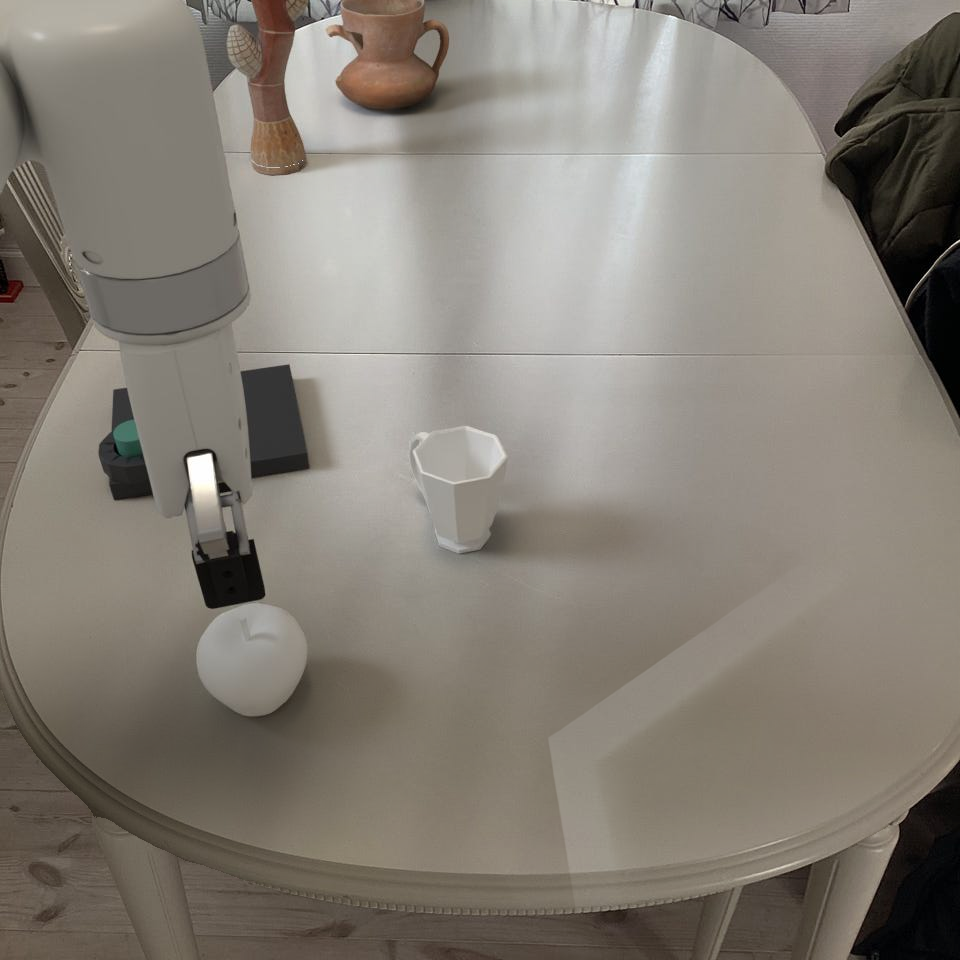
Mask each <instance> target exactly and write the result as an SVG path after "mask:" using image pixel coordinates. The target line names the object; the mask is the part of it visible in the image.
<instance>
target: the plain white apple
mask: <svg viewBox="0 0 960 960" xmlns="http://www.w3.org/2000/svg"><path fill="white" fill-rule="evenodd" d="M195 655H196V657H195V658H196V662H195V663H196V669H197V673H198V677H199V679H200V681H201V683H202V684H203V686H204V688H205V689H206V691H208V692H209V693H210V694H211V696H213V697H214V698H215V699H217V700H218V701H219V702H221V703H222V704H223V705H225V706H226V707H228V708H229V709H230V710H232V711H234V712H235V713H237V714H239V715H241V716H244V717H263V716H267V715H269V714H272V713H273V712H275V711H277V710H278V709H279V708H280V707H281V706H282V705H284V704H285V703H286V702H287V701H288V700H289V699H290V697H291V696H292V695H293V694H294V692H295V690H296V688H297V686H298V685H299V683H300V681H301V679H302V677H303V674H304V671H305V669H306V666H307V661H308V642H307V639H306V636H305V633H304V631H303V630H302V628H301V626H300V623H298V621H297V620H296V618H294V617H293V615H292V614H291V613H289V612H288V611H287V610H285V609H283V608H281V607H279V606H276V605H269V604H265V603H259V602H258V603H256V602H249V603H245V604H241V605H240V606H236V607H235V608H231V609H228V610H226V611H224V612H222V613H220V614H218V615H217V616H216V617H215V618H214V619H213V620H212V621H211V622H210V623H209V625H208V626H207V627H206V628H205V630H204V632H203V633H202V635H201V636H200V639H199V640H198V643H197V646H196V653H195Z"/></svg>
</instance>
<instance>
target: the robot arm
mask: <svg viewBox="0 0 960 960" xmlns="http://www.w3.org/2000/svg"><path fill="white" fill-rule="evenodd" d="M205 49H206V48H205V44H204V39H203V37H202V31H201V28H200V25H199V23H198V21H197V17H195V15H194V13H193V11H192V10H191V8H190V7H189V6H188V5H187V3H186V2H185V1H184V0H0V196H1V195H2V194H3V191H4V188H5V186H6V184H7V182H8V180H9V178H10V175H11V173H12V172H13V171H15V170H16V169H18V168H19V167H21V166H22V165H24V164H25V163H27V162H37V163H39V164H40V165H42V166H43V168H44V169H45V172H46V175H47V179H48V182H49V185H50V189H51V192H52V195H53V199H54V201H55V205H56V207H57V211H58V214H59V215H58V216H59V218H60V221H61V224H62V227H63V231H64V235H65V238H66V240H67V244H68V247H69V250H70V253H71V257H72V259H73V263H74V266H75V269H76V273H77V276H78V279H79V282H80V286H81V288H82V292H83V295H84V299H85V303H86V305H87V308H88V311H89V315H90V318H91V321H92V324H93V326H94V328H95V329H96V330H97V332H99V333H100V334H102V335H103V336H105V337H107V338H108V339H111V340H114V341H116V342H118V347H119V354H120V359H121V364H122V370H123V375H124V381H125V385H126V388H127V390H128V395H129V399H130V403H131V408H132V412H133V416H134V420H135V424H136V428H137V432H138V436H139V440H140V444H141V448H142V452H143V456H144V460H145V463H146V467H147V471H148V475H149V479H150V483H151V487H152V492H153V494H152V495H153V499H154V503H155V508H156V510H157V513H158V514H159V515H161V516H162V517H163V518H164V519H172V518H173V517H181V516H183V513H184V511H185V515H186V519H187V520H186V521H187V525H188V531H189V536H190V542H191V543H190V544H191V548H192V549H191V558H192V562H193V565H194V570H195V574H196V577H197V580H198V583H199V587H200V591H201V593H202V598H203V602H204V605H205V607H206V608H207V609H210V610H216V609H220V608H225V607H226V608H227V607H230V606H237V605H242V604H248V603H253V602H256V601H260V600H263V599H264V598H265V597H266V588H265V583H264V578H263V573H262V570H261V565H260V561H259V555H258V553H257V548H256V543H255V539H254V538H251V539H249V536H248V531H247V524H246V520H245V519H246V518H245V513H244V509H243V506H244V505H245V504H247V503H248V501H249V500H250V499H251V497H252V496H253V484H252V478H251V463H250V448H249V435H248V424H247V414H246V405H245V397H244V390H243V384H242V377H241V372H240V371H241V366H240V362H239V356H238V351H237V345H236V340H235V334H234V329H233V325H232V323H233V322H235V321H236V320H237V319H238V318H239V317H241V315H243V314H244V313H245V312H246V309H247V308H248V306H249V304H250V303H251V299H252V298H251V297H252V292H251V287H250V281H249V276H248V271H247V270H248V269H247V266H246V261H245V260H246V259H245V256H244V255H245V254H244V250H243V244H242V239H241V234H240V229H239V224H238V219H237V213H236V207H235V203H234V198H233V191H232V188H231V182H230V177H229V171H228V166H227V159H226V155H225V149H224V144H223V138H222V133H221V129H220V123H219V117H218V112H217V107H216V102H215V96H214V91H213V85H212V80H211V75H210V70H209V65H208V59H207V54H206V50H205ZM224 493H225V494H224ZM226 493H230V494H226ZM221 494H224V495H221ZM224 508H230V512H231V516H232V521H233V526H234V530H229V531H228V530H227V526H226V522H225V517H224V511H223V509H224Z"/></svg>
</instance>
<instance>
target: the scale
mask: <svg viewBox="0 0 960 960" xmlns="http://www.w3.org/2000/svg"><path fill="white" fill-rule="evenodd" d="M240 372H241V377H242V384H243V390H244V397H245V405H246V414H247V424H248V435H249V448H250V463H251V479H253V478H259V477H264V476H270V475H277V474H282V473H289V472H295V471H300V470H307V469H310V463H309V456H308V450H307V445H306V440H305V435H304V430H303V425H302V420H301V414H300V410H299V405H298V400H297V395H296V390H295V385H294V380H293V376H292V370H291V365H290V363H288V364H281V365H275V366H267V367H261V368H253V369H247V370H240ZM111 409H112V412H111V431H110V432H109V433H108V434H107V435H106V436H105V437H104V438H103V439H102V440H101V441H100V442H99V444H98V458H99V461H100V464H101V468H102V470H103V473H104V474H105V475H106V476H108V479H109V480H108V486H109V489H110V492H111V495H112V498H113V501H116V500H124V499H129V498H135V497H141V496H148V495H153V492H152V487H151V483H150V479H149V475H148V471H147V467H146V463H145V460H144V456H143V455H142V456H138V457H131V458H129V457H124V456H122V455H120V454H119V452H118V449H117V446H116V442H115V439H114V436H113V432H114V430H115V428H116V427H117V426H118V425H120V424H122V423H124V422H126V421H130V420H134V416H133V412H132V408H131V403H130V399H129V395H128V390H127V387H121V388H115V389H113V390H112V407H111Z"/></svg>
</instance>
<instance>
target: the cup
mask: <svg viewBox="0 0 960 960" xmlns="http://www.w3.org/2000/svg"><path fill="white" fill-rule="evenodd" d="M508 458H509V457H508V454H507V452H506V450H505V448H504V446H503V443H502V442H501V439H500V438H499V436H498V435H497V434H494V433H490V432H488V431H485V430H483V429H482V430H481V429H478V428H475V427H472V426H469V425H460V426H456V427H449V428H444V429H439V430H433V431H431V432H430V433H428V432H426V431H421V432H418V433H416V434H414V435H413V436H412V437H411V438H410V439H409V442H408V449H407V460H408V465H409V469H410V472H411V475H412V477H413V479H414V481H415V483H416V486H417V487H418V489H419V491H420V493H421V494H422V496H423V497H424V501H425V504H426V507H427V510H428V512H429V514H430V517H431V521H432V522H433V525H434V535H435V537H436V540H437V542H438V545H439V547H440V548H442V549H446V550H448V551H450V552H453V553H455V554H458V555H461V554H465V553H469V552H475V551H480V550H481V549H482V548H483V547H484V545H485V544H486V543H487V542H488V541H489V539H490V537H492V536H491V535H492V533H491V531H490V528H491V527H492V526H493V522H494V520H495V517H496V514H497V511H498V509H499V505H500V499H501V493H502V488H503V485H504V484H503V483H504V479H505V474H506V469H507V464H508Z"/></svg>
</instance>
